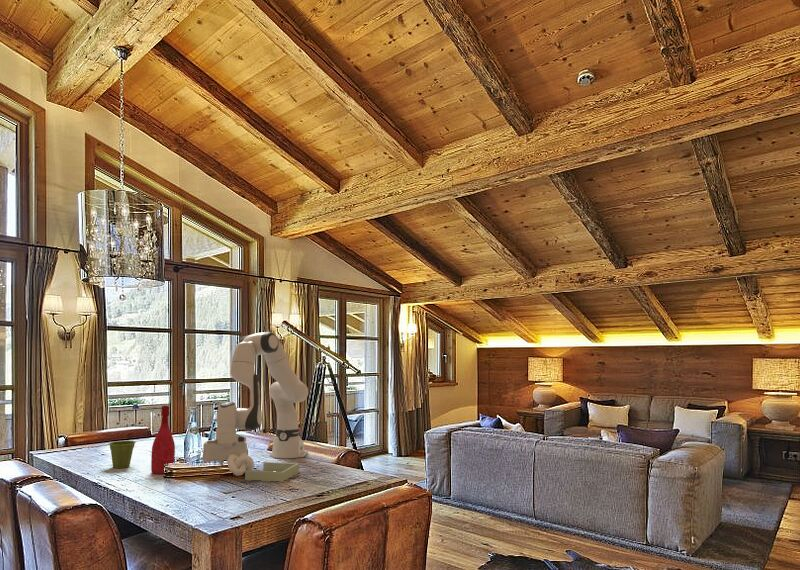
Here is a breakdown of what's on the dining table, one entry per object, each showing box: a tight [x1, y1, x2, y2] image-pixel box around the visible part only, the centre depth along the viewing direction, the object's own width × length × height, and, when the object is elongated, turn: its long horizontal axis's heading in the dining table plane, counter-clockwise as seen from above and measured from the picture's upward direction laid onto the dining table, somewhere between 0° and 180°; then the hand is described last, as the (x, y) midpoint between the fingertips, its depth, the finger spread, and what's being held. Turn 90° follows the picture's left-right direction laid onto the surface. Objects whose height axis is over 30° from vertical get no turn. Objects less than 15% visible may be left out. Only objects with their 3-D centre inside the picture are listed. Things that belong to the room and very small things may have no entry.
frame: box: [244, 461, 300, 483], centre depth 265 cm, size 20×17×4 cm
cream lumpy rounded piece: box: [226, 453, 255, 477], centre depth 268 cm, size 11×12×9 cm
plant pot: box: [108, 440, 137, 469], centre depth 283 cm, size 12×12×11 cm
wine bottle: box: [150, 404, 176, 475], centre depth 272 cm, size 10×10×30 cm
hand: (224, 469), depth 269 cm, fingers closed
